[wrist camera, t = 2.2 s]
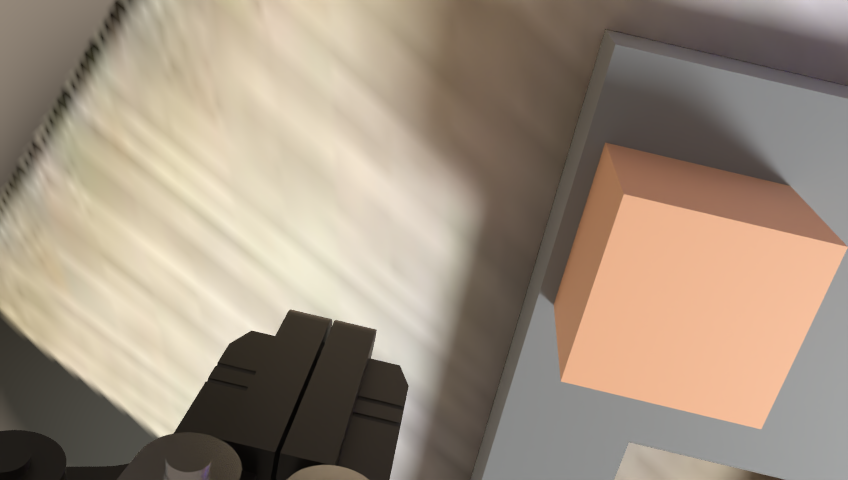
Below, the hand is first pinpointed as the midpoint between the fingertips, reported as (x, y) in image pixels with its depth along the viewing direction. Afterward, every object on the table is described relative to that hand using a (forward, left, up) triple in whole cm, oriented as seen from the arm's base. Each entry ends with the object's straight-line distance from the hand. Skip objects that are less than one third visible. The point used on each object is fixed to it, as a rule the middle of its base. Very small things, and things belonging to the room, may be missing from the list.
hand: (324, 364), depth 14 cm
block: (-8, 0, -10) cm, 12 cm away
